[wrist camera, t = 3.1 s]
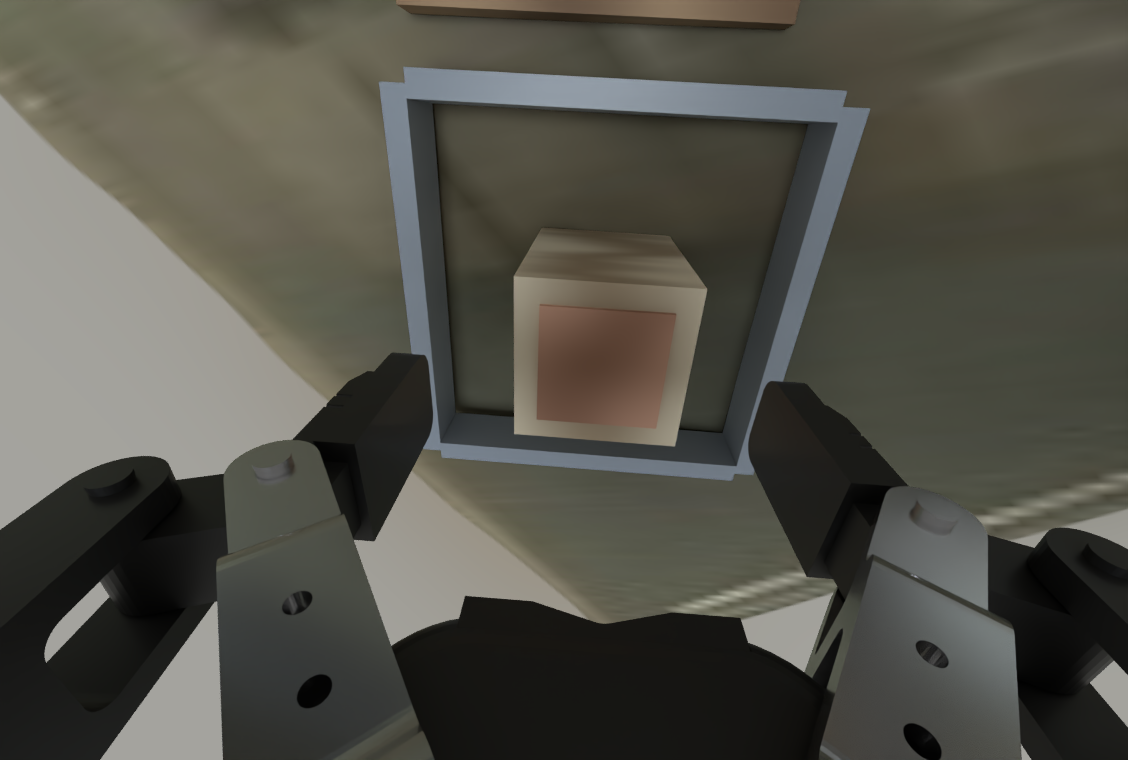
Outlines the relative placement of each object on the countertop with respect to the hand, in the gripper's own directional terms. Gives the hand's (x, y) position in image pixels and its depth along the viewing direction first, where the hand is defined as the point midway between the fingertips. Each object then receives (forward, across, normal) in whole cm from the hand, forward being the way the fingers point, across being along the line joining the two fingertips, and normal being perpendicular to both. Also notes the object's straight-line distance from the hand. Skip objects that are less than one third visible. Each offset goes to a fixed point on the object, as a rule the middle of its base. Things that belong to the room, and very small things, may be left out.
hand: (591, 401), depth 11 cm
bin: (+9, 0, 0) cm, 9 cm away
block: (+9, 0, 0) cm, 9 cm away
